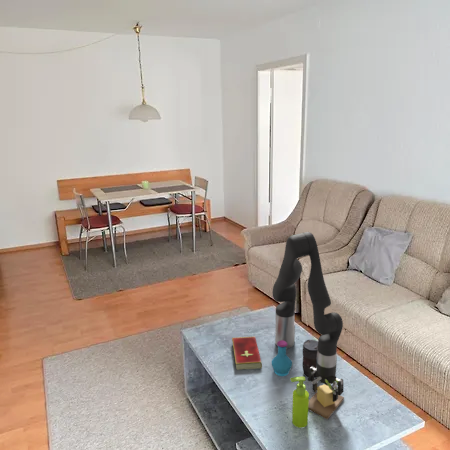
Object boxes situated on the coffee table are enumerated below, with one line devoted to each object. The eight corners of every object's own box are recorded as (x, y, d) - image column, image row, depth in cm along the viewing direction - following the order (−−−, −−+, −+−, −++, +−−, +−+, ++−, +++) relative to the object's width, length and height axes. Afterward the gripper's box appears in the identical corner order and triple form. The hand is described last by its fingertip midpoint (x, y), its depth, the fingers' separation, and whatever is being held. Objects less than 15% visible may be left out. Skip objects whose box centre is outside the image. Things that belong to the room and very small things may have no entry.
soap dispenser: (287, 417, 157) (288, 373, 151) (305, 415, 158) (307, 372, 152) (291, 428, 151) (292, 384, 145) (309, 427, 152) (311, 382, 146)
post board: (321, 388, 172) (322, 377, 170) (343, 399, 165) (344, 388, 163) (304, 407, 162) (304, 395, 160) (327, 419, 155) (328, 407, 154)
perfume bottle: (279, 380, 177) (279, 351, 173) (267, 368, 185) (267, 340, 181) (296, 373, 181) (297, 344, 177) (284, 362, 189) (284, 334, 185)
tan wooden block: (316, 398, 164) (317, 386, 163) (327, 395, 166) (327, 383, 164) (324, 407, 160) (325, 394, 158) (334, 403, 162) (335, 390, 160)
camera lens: (298, 374, 181) (299, 345, 177) (308, 365, 187) (309, 337, 182) (314, 382, 176) (315, 352, 171) (323, 372, 181) (325, 343, 177)
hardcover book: (255, 343, 206) (255, 335, 204) (262, 369, 186) (262, 361, 184) (232, 344, 205) (231, 337, 204) (235, 371, 185) (235, 363, 184)
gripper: (348, 363, 155) (345, 398, 160) (315, 349, 164) (313, 383, 169) (339, 373, 150) (336, 409, 155) (305, 358, 159) (304, 392, 164)
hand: (324, 395), depth 162 cm, fingers open, 8 cm apart
